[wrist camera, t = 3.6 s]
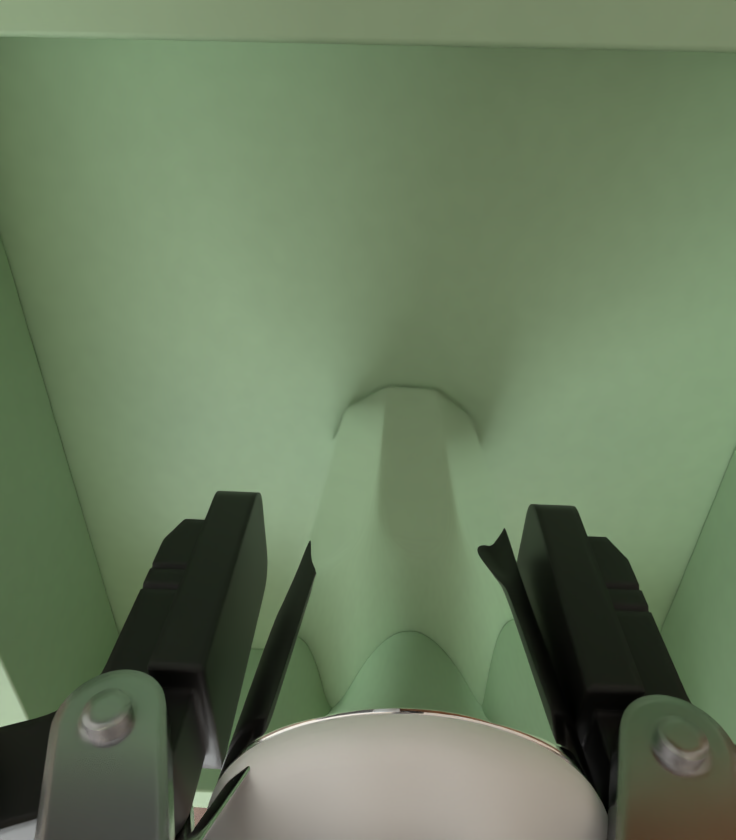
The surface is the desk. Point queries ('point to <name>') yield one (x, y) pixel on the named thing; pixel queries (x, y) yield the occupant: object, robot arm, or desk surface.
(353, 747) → the milkshake
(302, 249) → the tote
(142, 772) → the robot arm
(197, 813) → the desk surface
